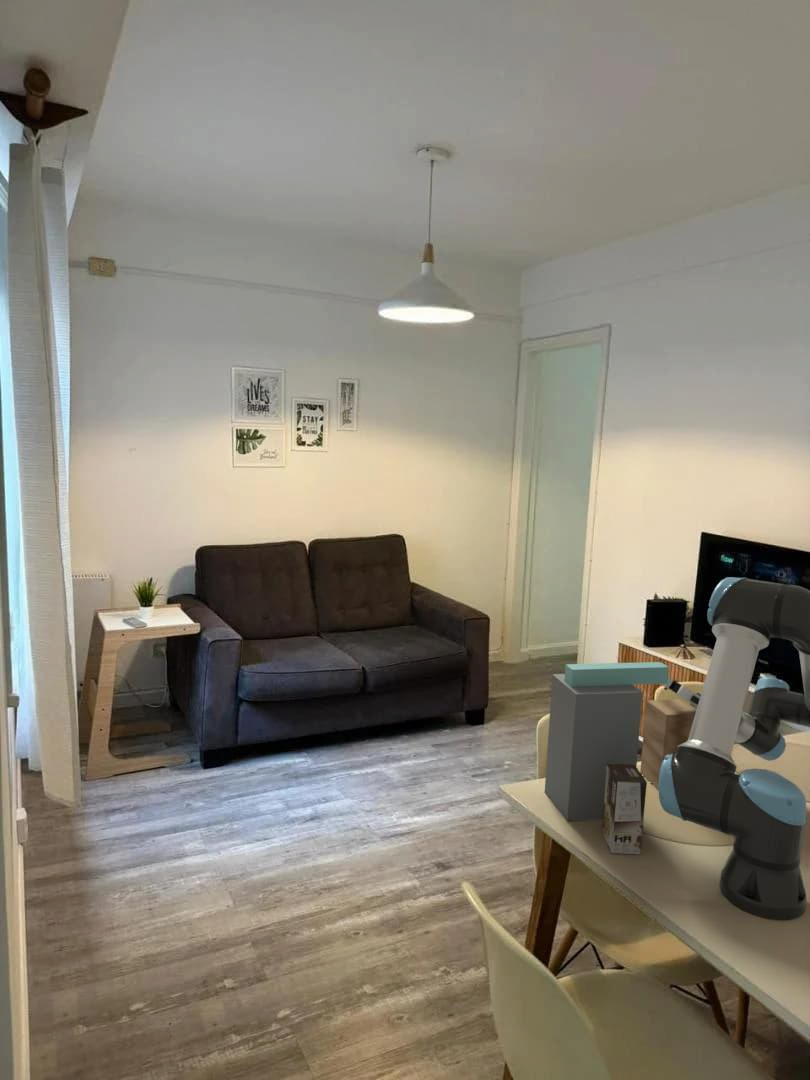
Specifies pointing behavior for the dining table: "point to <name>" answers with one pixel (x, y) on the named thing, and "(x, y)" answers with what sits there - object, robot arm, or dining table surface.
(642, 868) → the dining table surface
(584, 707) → the tall stand
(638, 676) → the teal bar
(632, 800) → the coffee box
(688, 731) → the walnut pedestal
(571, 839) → the dining table surface
